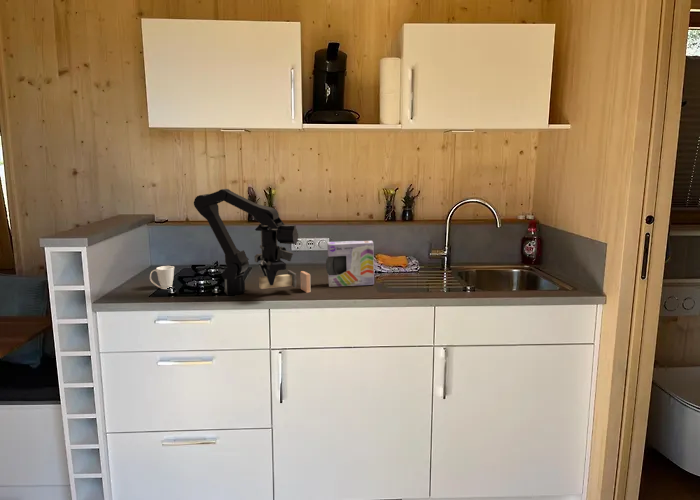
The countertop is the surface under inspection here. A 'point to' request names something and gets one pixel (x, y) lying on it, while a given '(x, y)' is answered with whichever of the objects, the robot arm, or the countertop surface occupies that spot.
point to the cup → (164, 276)
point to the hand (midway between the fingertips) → (270, 284)
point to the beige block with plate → (279, 281)
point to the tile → (305, 281)
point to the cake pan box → (350, 263)
